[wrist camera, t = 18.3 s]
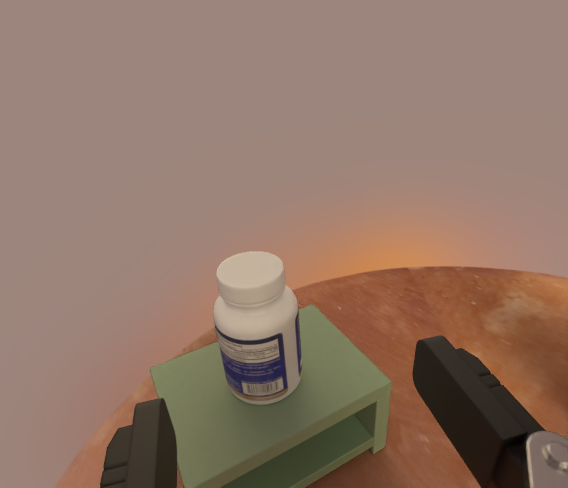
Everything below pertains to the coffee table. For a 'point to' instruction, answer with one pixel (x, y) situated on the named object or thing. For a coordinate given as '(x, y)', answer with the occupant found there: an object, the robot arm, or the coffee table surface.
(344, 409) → the stand
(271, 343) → the pill bottle
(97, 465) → the coffee table surface
